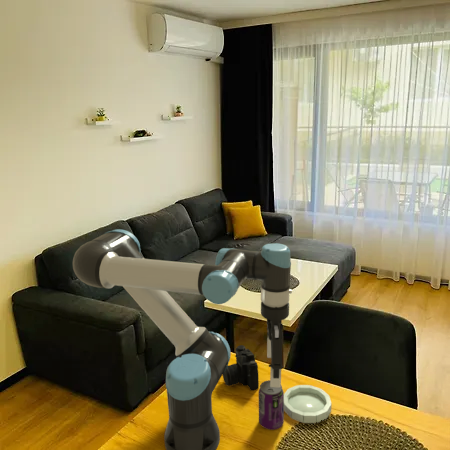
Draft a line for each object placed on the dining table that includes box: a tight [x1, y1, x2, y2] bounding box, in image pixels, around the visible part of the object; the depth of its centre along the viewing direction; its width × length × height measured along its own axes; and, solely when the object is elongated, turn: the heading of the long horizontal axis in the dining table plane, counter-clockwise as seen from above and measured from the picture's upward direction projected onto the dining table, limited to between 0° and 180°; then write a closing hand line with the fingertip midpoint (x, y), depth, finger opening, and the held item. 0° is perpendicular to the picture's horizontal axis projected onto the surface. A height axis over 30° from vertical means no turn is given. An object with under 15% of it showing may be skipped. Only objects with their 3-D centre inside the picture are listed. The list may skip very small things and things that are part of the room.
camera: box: [222, 344, 260, 392], centre depth 144 cm, size 14×11×10 cm
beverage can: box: [258, 379, 285, 430], centre depth 124 cm, size 7×7×12 cm
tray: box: [284, 384, 332, 424], centre depth 131 cm, size 14×14×2 cm
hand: (273, 371), depth 121 cm, fingers open, 13 cm apart
